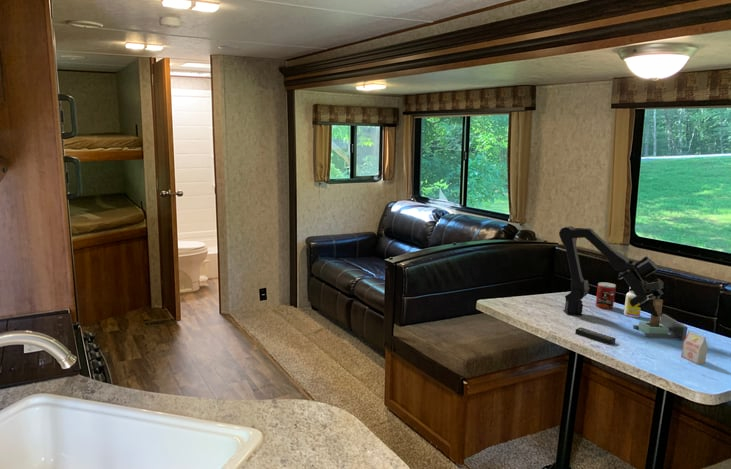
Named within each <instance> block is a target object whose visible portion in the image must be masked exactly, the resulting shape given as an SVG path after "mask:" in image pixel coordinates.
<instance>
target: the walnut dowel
mask: <svg viewBox="0 0 731 469" xmlns="http://www.w3.org/2000/svg"><path fill="white" fill-rule="evenodd" d="M663 303H664V300H663V299H661V298H659V299H657V298H654V299H653V306H654V308H655V310H656V312H657V314H658V317H655V316H653V315H652V314H650V319H649V322H650V325H649V326H651V327H659V324H660V319H661V311H662V309H663V305H664V304H663ZM662 312H663V311H662Z"/></svg>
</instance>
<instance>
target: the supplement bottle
mask: <svg viewBox="0 0 731 469" xmlns="http://www.w3.org/2000/svg"><path fill="white" fill-rule="evenodd" d="M629 289H630V287H629ZM629 289H628V290H629ZM634 297H636V295H635V294H634V292H633V291H630V290H629V291H628V292H627V293H626V294H625V301H624V307H623V315H624V316H626V317H628V318H633V319H634V318H635V319H638V318H640V316H641V309H642V308H640V307H638V306H639V305H640V304H639V303H638V304H637V305H636V306H634V307H632V306H631V305H630V300H631V299H633V298H634Z"/></svg>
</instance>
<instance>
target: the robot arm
mask: <svg viewBox="0 0 731 469" xmlns="http://www.w3.org/2000/svg"><path fill="white" fill-rule="evenodd" d="M558 235H559V238H560V240H561V243H562V245H563V246H564V247H565V253H566V258H567V260H568V261H567V262H568V267H569V272H570V277H571V283H570V292H569V293H568V294H566V295H565V296H564V298H565V304H564V305H565V306H564V309H563V310H562V311H563V312H564V313H565V314H566V315H568V316H583V309H584V308H583V306H584V304H583V298H584V297H586V296H588V294H589V291H590V289H591V288H590V286H589V281H588V279H586V280H585V279H584V277H583V274H582V269H581V265H580V264H581V263H580V258H579V254H578V250H577V249H578V248H577V240H578V239H580V238H581V239H586V240H587V241H588V242H589V243H590V244H591V245H592V246H594V248H595V249H597V250H598V251H599V252H600V253H601V254H602V255H603V256H604V257H605V258H606V259H607V261H608V263H609V264H610V266H611V268H613V270H614V271H616V272H618V273H617V274H618V277H617V280H622V279H624V281H625V282H626V284H627V285H628V287H629V288H630V289H628V290H630V291H633V292H634V294H635V295H636V297H634V298H633V299H631V300H630V305H631V306H632V307H634V306H636V305H637V304H638V303H639V304H640V305H639V306H638V307H640V308H641V309H642V310H644V311H645V312H647V313H648V314H650V315H651V314H652V315H653V316H655V317H658V314H657V312H656V310H655V308H654V306H653V299H654V298H657V299H660V298H661V295H663V294H664V292H663V291H662V289H664V284H665V283H664V282H663V280H661V279H660V278H656V279H654V280H653V282H648V281H647V280H643V279H642V277H645V278H647V277H648V276H650V275H651V274H653V273H654V272H656V271H658V270H659V267H658V266H657V264H656V263H655V262H654V261H653V260H652V259H651V258H649V257H648V255H646V256H644V257H643V258H642V259H641V260H639V261H634V260H630V259H629V258H628V257H627V256H625V255H624V254H622V253H621V252H618V251H617V250H615V249H614V248H612V247H611V246H610V245H609V244H608V243H607V242H606V241H605V240H604V239H603V238H602V237H600V236H599V235H598V234H597V233H596V232H595V231H594V230H593V228H591V227H587V228H586V227H585V228H584V227H583V228H581V227H574V226H572V225H568V226H565V227H562V228H560V230H559V231H558ZM630 291H629V292H630ZM662 314H663V311H661V315H662Z"/></svg>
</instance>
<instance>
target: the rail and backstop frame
mask: <svg viewBox="0 0 731 469" xmlns="http://www.w3.org/2000/svg"><path fill="white" fill-rule="evenodd" d="M660 324H662V325H664V326H665V327H667V328H669V332H668V334H650V333H645V334H644V337H645V338H647V339H648V338H649V339H650V338H652V339H678V340H679V341H680V342H684V340H685V338H686V336H687V334H688V326H686V325H684V324H683V323H681V322H679V321H677V320H676V319H674V318H673V317H671V316H669V315H667V314H666V313H662V315H661V317H660ZM638 326H639V324H637V325H635V324H633V327H632V329H634V330H638Z"/></svg>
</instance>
